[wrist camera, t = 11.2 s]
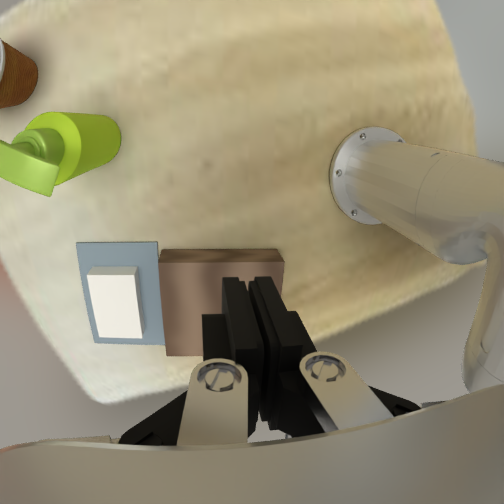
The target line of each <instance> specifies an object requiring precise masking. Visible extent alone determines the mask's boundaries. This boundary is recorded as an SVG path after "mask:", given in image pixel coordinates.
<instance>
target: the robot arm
mask: <svg viewBox="0 0 504 504" xmlns="http://www.w3.org/2000/svg"><path fill="white" fill-rule="evenodd" d="M360 135H361V138H360ZM336 170H337V174H335V172H336ZM330 186H331V191H332V194H333V197H334V199H335V202H336V203H337V205H338V206H339V208H340V209H341V210H342V211H343V212H344V213H345V214H346V215H347V216H349V217H350V218H351V219H353V220H355V221H357V222H359V223H363V224H367V225H377V224H382V223H384V224H386V225H387V226H389V227H390V228H392V229H394V230H395V231H397V232H399V233H400V234H402V235H403V236H405V237H407V238H408V239H410V240H411V241H413V242H415V243H416V244H418V245H419V246H421V247H422V248H424V249H426V250H427V251H429V252H430V253H432V254H434V255H435V256H437V257H438V258H440V259H442V260H444V261H446V262H449V263H452V264H459V265H465V264H471V263H476V262H479V261H481V260H484V259H486V258H487V268H486V274H485V279H484V283H483V289H482V293H481V297H480V300H479V304H478V307H477V310H476V314H475V317H474V320H473V323H472V326H471V329H470V332H469V335H468V338H467V341H466V345H465V348H464V351H463V356H462V364H461V371H462V378H463V381H464V384H465V386H466V388H467V390H468V391H469V394H466V395H463V396H460V397H457V398H455V399H451V400H448V401H438V402H428V403H421V404H420V406H418V405H416V404H415V403H413V402H411V401H409V400H406V399H403V398H400V397H397V396H395V395H392V394H389V393H386V392H384V391H381V390H378V389H376V388H373V387H370V386H368V385H367V384H366V383H365V382H364V381H363V380H362V378H361V377H360V376H359V375H358V374H357V372H356V371H355V370H354V369H353V368H352V366H351V365H350V364H349V363H348V362H347V361H346V360H345V359H343V358H342V357H340V356H339V355H337V354H333V353H330V352H317V350H316V348H315V346H314V344H313V342H312V340H311V338H310V337H309V335H308V333H307V331H306V329H305V327H304V325H303V323H302V321H301V319H300V317H299V315H298V313H297V312H296V311H287V309H286V307H285V305H284V303H283V301H282V299H281V296H280V294H279V292H278V290H277V288H276V286H275V284H274V282H273V279H272V277H271V276H258V277H255V278H254V281H249V283H248V290H247V287H246V284H245V281H239V277H222V314H202V342H203V362H202V363H200V364H198V365H197V366H196V367H195V368H194V369H193V371H192V373H191V377H190V382H189V387H188V390H187V391H186V392H184V393H183V394H181V395H180V396H178V397H177V398H175V399H174V400H173V401H171V402H170V403H168V404H167V405H166V406H164V407H162V408H161V409H159V410H158V411H156V412H155V413H153V414H152V415H150V416H149V417H148V418H146V419H145V420H143V421H141V422H140V423H138V424H137V425H135V426H134V427H132V428H131V429H129V430H128V431H127V432H125V433H124V434H123V435H122V436H121V438H116V439H111V437H110V435H107V436H96V437H82V438H64V439H45V440H39V441H35V442H29V443H21V444H15V445H12V446H8V447H5V448H2V449H0V504H504V162H499V161H494V160H489V159H484V158H479V157H474V156H470V155H465V154H461V153H456V152H451V151H446V150H441V149H436V148H431V147H425V146H420V145H414V144H408V143H406V142H405V140H404V139H403V138H402V137H401V136H399V135H398V134H397V133H395V132H393V131H392V130H389V129H386V128H383V127H366V128H362V129H359V130H357V131H355V132H353V133H351V134H350V135H349V136H348V137H346V138H345V139H344V140H343V141H342V143H341V144H340V145H339V146H338V148H337V150H336V152H335V154H334V156H333V159H332V162H331V167H330ZM352 210H353V212H352ZM351 212H352V213H351ZM258 412H259V413H260V417H261V420H262V421H268V425H269V429H270V430H280V431H282V432H284V433H286V435H285V439H281V440H273V441H263V442H254V443H247V439H248V437H249V436H250V435H251V434H252V433H253V432H254V431H255V428H256V422H257V420H258Z"/></svg>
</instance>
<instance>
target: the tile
mask: <svg viewBox="0 0 504 504" xmlns="http://www.w3.org/2000/svg"><path fill="white" fill-rule="evenodd" d="M87 279H88V285H89V291H90V296H91V301H92V306H93V311H94V316H95V321H96V325H97V330H98V334H99V337H107V338H143V334H144V330H145V324H144V317H143V310H142V302H141V293H140V284H139V275H138V266H98V267H92V268H91V270H90V271H89V273H88V274H87Z"/></svg>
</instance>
